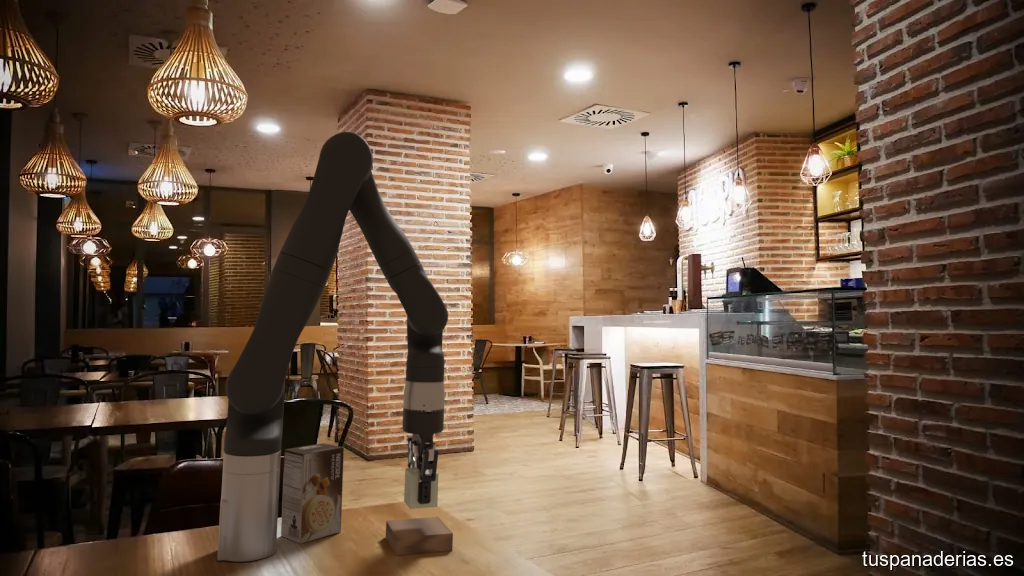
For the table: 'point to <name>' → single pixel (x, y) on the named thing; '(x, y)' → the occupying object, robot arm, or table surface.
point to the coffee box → (312, 492)
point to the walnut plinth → (418, 535)
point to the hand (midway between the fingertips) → (420, 498)
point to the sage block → (412, 490)
